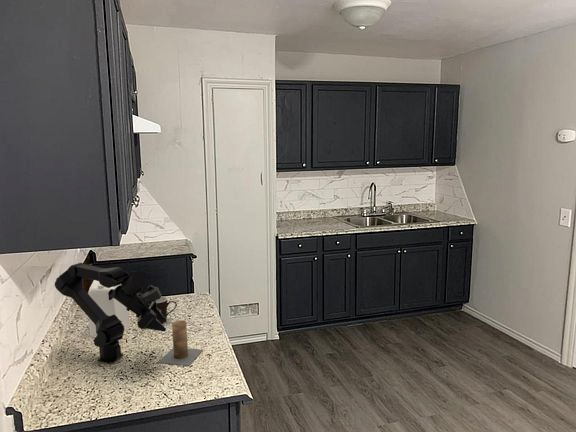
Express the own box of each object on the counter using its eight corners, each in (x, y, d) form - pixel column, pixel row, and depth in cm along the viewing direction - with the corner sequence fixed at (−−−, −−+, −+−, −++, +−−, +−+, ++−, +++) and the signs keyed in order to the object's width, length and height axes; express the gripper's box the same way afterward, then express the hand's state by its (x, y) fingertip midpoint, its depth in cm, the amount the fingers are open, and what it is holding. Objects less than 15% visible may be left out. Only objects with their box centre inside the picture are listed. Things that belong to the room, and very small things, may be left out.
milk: (130, 325, 193) (125, 266, 189) (118, 336, 182) (112, 274, 178) (103, 324, 194) (98, 266, 190) (89, 336, 183) (83, 274, 179)
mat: (157, 362, 159) (157, 362, 159) (173, 347, 171) (173, 347, 171) (189, 366, 156) (189, 365, 156) (203, 350, 168) (203, 349, 168)
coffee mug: (144, 324, 193) (142, 302, 191) (155, 317, 201) (153, 295, 200) (169, 326, 190) (167, 304, 189) (178, 319, 198) (177, 297, 197)
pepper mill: (171, 358, 162) (169, 325, 160) (177, 351, 166) (176, 319, 164) (184, 359, 161) (182, 326, 158) (190, 353, 165) (188, 321, 163)
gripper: (145, 290, 147) (181, 317, 152) (146, 274, 165) (179, 299, 170) (121, 315, 147) (159, 342, 151) (125, 297, 164) (159, 321, 169)
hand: (165, 325), depth 161 cm, fingers open, 9 cm apart
